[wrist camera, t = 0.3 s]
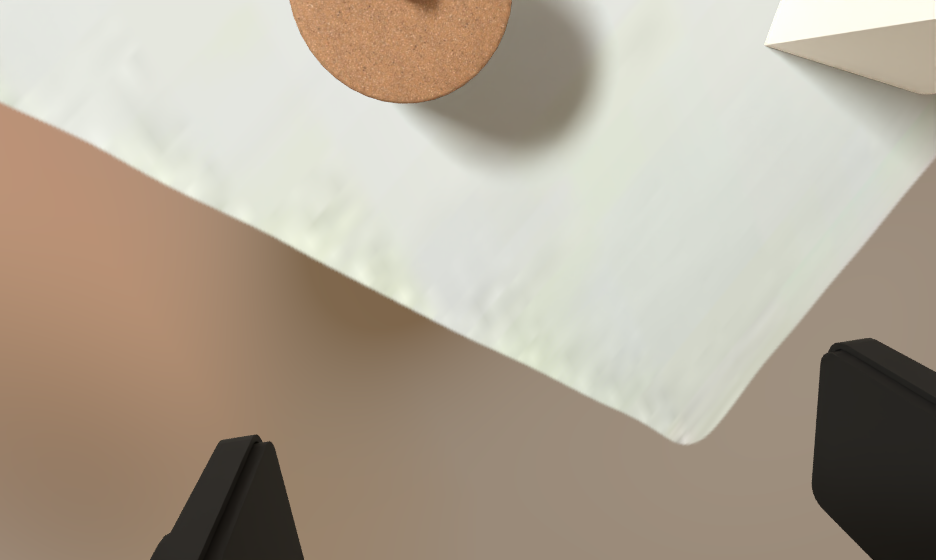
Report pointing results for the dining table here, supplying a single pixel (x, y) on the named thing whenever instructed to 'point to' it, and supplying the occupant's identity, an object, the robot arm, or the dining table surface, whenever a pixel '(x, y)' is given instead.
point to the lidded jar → (402, 43)
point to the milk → (863, 38)
